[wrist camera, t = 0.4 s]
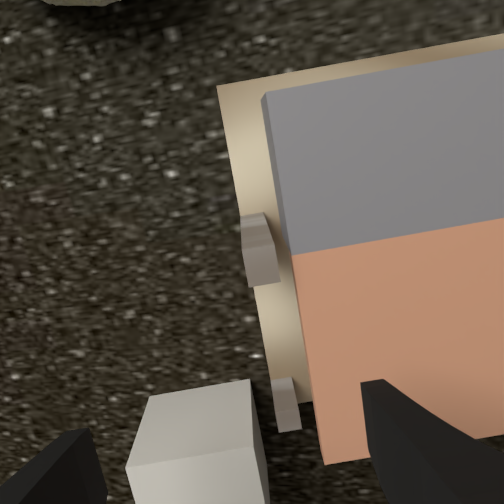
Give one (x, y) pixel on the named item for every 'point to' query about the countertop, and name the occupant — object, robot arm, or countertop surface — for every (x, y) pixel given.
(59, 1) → the sea urchin shell
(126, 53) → the countertop surface
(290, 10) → the countertop surface
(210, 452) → the off-white sharp-edged cube
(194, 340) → the countertop surface
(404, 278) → the trapdoor
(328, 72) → the frame
